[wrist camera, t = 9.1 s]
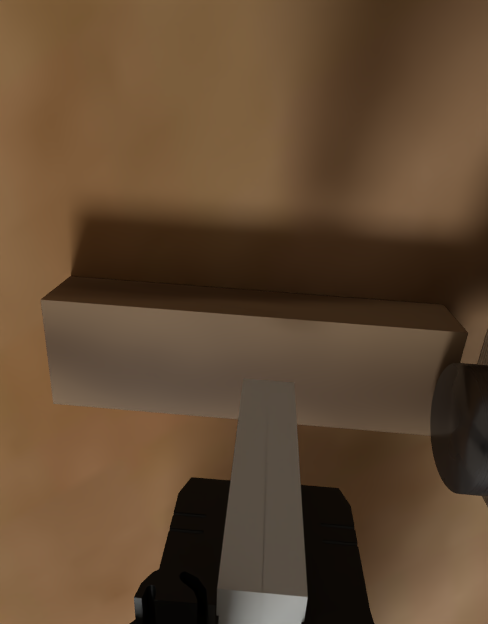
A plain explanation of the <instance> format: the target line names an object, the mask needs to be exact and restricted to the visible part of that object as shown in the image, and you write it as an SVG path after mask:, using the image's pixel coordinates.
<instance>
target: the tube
mask: <svg viewBox="0 0 488 624" xmlns="http://www.w3.org/2000/svg"><path fill="white" fill-rule="evenodd" d="M430 433H431V444H432V450H433V456H434V460H435V464H436V467H437V470H438V472H439V475H440V477H441V479H442V481H443V482H444V484H445V485H446V486H447V487H448V489H450V490H451V491H452V492H454V493H457V494H467V495H478V496H488V365H477V364H464V363H452V364H450V365H448V366H447V367H446V368H445V369H444V370H443V372H442V373H441V375H440V377H439V379H438V381H437V384H436V387H435V390H434V394H433V399H432V405H431V416H430Z"/></svg>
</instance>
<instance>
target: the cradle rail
mask: <svg viewBox="0 0 488 624" xmlns="http://www.w3.org/2000/svg"><path fill="white" fill-rule="evenodd" d="M41 307H42V315H43V323H44V331H45V339H46V347H47V355H48V363H49V371H50V380H51V388H52V396H53V404H63V405H75V406H87V407H98V408H110V409H122V410H134V411H145V412H157V413H169V414H181V415H192V416H204V417H216V418H228V419H238V418H239V410H240V402H241V394H242V386H243V379H253V380H266V381H280V382H293V383H294V388H295V404H296V420H297V424H298V425H310V426H322V427H333V428H345V429H357V430H369V431H380V432H392V433H404V434H416V435H427V436H431V433H430V416H431V405H432V399H433V394H434V390H435V387H436V384H437V381H438V379H439V377H440V375H441V373H442V372H443V370H444V369H445V368H446V367H447V366H448V365H450V364H452V363H460V360H461V357H462V353H463V349H464V346H465V342H466V339H467V335H468V332H467V331H466V330H465V329H464V328H463V327H462V325H461V324H460V323H459V322H458V321H457V320H456V319H455V318H454V316H453V315H452V314H451V313H450V312H449V311H448V310H447V309H446V307H445V306H444V305H442V304H429V303H416V302H403V301H389V300H376V299H363V298H350V297H337V296H323V295H310V294H297V293H284V292H271V291H257V290H244V289H231V288H218V287H205V286H192V285H178V284H165V283H152V282H139V281H126V280H112V279H99V278H86V277H73V276H70V277H69V278H67V279H66V280H65V281H64V282H62V283H61V284H60V285H59V286H57V287H56V288H55V289H54V290H52V291H51V292H50V293H48V294H47V295H46V296H45V297H43V298H42V299H41Z"/></svg>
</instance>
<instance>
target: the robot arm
mask: <svg viewBox="0 0 488 624" xmlns="http://www.w3.org/2000/svg"><path fill="white" fill-rule="evenodd" d="M134 604H135V617H136V619H135V620H134V621H133V622H131V623H130V624H374V622H373V619H372V615H371V612H370V608H369V602H368V597H367V592H366V586H365V581H364V576H363V570H362V565H361V559H360V554H359V549H358V547H357V538H356V533H355V530H354V522H353V516H352V511H351V506H350V504H349V503H348V501H347V500H346V499H345V497H344V496H343V494H342V493H341V491H340V490H339V488H330V487H317V486H305V485H301V483H300V467H299V451H298V435H297V420H296V404H295V388H294V383H293V382H280V381H266V380H253V379H243V386H242V394H241V402H240V410H239V418H238V426H237V434H236V442H235V450H234V458H233V466H232V474H231V481H229V480H216V479H204V478H192V477H191V479H190V480H189V481H188V482H187V483H186V485H185V486H184V487H183V488H182V490H181V491H180V492H179V494H178V498H177V502H176V505H175V509H174V515H173V517H172V521H171V525H170V531H169V533H168V537H167V541H166V544H165V548H164V552H163V556H162V560H161V564H160V568H159V570H157V571H154V572H153V573H152V574H150V575H149V576H148V577H147V578H146V579H145V580H144V581H143V582H142V583H141V585H140V587H139V589H138V591H137V593H136V595H135V597H134Z"/></svg>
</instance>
